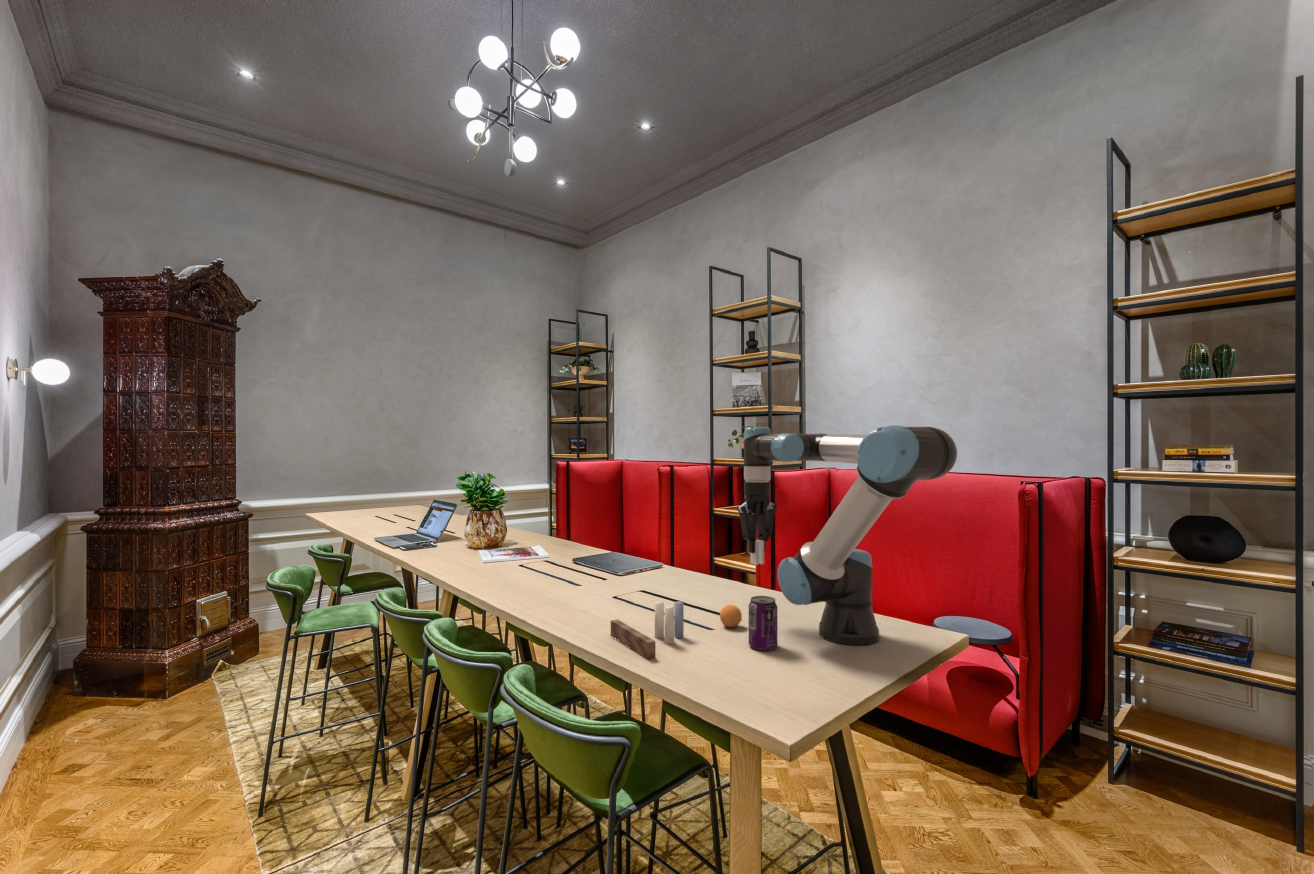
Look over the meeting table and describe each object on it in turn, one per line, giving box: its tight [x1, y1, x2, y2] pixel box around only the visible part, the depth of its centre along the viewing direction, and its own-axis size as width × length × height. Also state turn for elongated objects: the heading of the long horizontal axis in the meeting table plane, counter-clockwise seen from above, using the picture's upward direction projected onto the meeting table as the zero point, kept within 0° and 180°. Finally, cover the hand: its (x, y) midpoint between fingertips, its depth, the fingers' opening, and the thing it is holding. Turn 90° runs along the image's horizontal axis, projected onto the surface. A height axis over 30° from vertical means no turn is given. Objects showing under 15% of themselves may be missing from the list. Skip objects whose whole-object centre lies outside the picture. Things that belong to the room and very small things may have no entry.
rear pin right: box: [654, 601, 665, 640], centre depth 155 cm, size 2×2×9 cm
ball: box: [719, 604, 743, 628], centre depth 163 cm, size 6×6×6 cm
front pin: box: [673, 601, 685, 640], centre depth 155 cm, size 2×2×9 cm
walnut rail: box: [610, 618, 656, 661], centre depth 148 cm, size 20×2×4 cm, turn 30°
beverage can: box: [748, 595, 779, 651], centre depth 147 cm, size 7×7×12 cm
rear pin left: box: [664, 605, 675, 645], centre depth 150 cm, size 2×2×9 cm
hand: (757, 563), depth 168 cm, fingers closed
